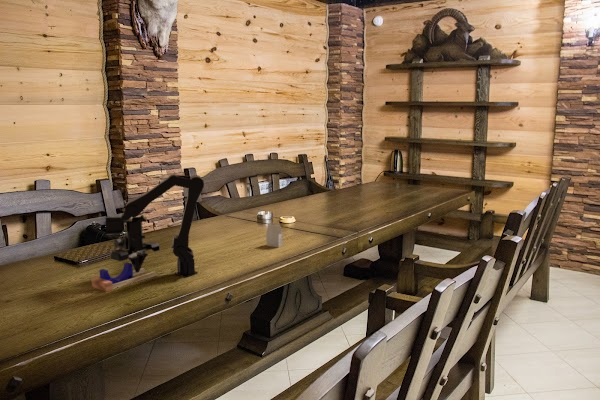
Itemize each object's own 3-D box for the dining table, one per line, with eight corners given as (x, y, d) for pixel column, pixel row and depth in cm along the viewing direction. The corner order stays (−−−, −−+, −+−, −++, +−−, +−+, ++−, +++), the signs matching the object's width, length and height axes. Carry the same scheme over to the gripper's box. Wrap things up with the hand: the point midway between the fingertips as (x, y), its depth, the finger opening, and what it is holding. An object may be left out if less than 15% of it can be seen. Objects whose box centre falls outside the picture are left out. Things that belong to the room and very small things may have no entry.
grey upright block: (278, 247, 255) (278, 226, 253) (266, 245, 258) (266, 225, 257) (282, 245, 258) (282, 225, 257) (270, 243, 262) (270, 223, 260)
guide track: (156, 275, 214) (156, 268, 213) (106, 291, 196) (106, 283, 196) (142, 271, 219) (141, 264, 219) (92, 286, 201) (91, 278, 201)
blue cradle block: (107, 288, 200) (106, 272, 199) (100, 285, 202) (99, 269, 201) (135, 279, 209) (134, 264, 208) (128, 277, 212) (127, 262, 211)
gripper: (141, 225, 221) (143, 262, 224) (100, 235, 206) (103, 274, 209) (159, 229, 214) (161, 267, 217) (118, 239, 200) (121, 280, 202)
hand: (137, 272), depth 212 cm, fingers closed
